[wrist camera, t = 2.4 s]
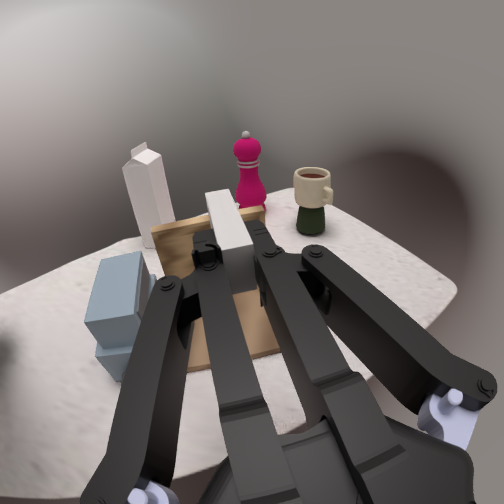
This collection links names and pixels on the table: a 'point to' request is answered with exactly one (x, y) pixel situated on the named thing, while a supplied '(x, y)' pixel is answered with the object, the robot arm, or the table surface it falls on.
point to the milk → (148, 191)
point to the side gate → (188, 240)
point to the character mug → (312, 198)
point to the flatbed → (253, 328)
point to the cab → (118, 309)
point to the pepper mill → (249, 173)
